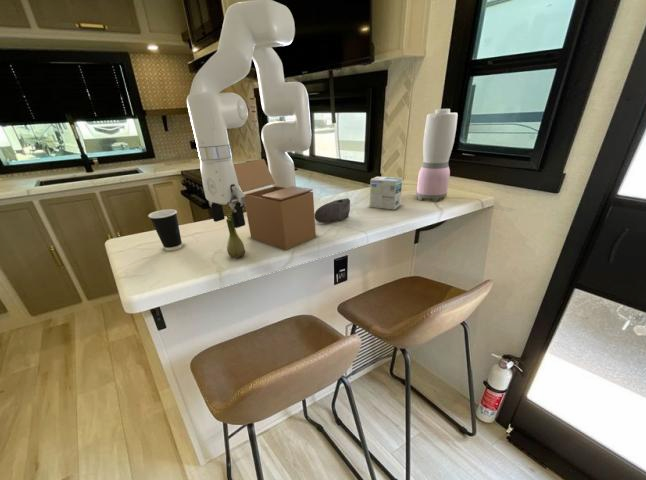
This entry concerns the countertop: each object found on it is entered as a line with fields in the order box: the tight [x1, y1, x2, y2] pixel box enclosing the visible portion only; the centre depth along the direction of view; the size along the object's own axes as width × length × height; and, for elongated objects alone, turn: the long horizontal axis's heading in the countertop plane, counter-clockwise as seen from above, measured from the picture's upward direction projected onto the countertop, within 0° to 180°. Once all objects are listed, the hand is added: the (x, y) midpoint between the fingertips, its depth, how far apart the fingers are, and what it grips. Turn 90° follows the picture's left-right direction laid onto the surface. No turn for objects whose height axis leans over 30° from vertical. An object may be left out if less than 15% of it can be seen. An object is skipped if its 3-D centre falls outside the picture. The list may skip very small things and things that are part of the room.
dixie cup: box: [147, 208, 183, 251], centre depth 95 cm, size 8×8×11 cm
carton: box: [243, 186, 317, 251], centre depth 96 cm, size 17×13×15 cm
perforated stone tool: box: [314, 197, 351, 224], centre depth 110 cm, size 15×5×7 cm, turn 116°
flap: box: [233, 158, 275, 193], centre depth 97 cm, size 8×13×1 cm
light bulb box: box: [369, 176, 403, 210], centre depth 121 cm, size 11×7×11 cm, turn 58°
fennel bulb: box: [225, 213, 246, 259], centre depth 86 cm, size 6×5×12 cm
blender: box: [415, 108, 459, 202], centre depth 124 cm, size 16×12×32 cm
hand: (229, 223), depth 84 cm, fingers open, 9 cm apart
